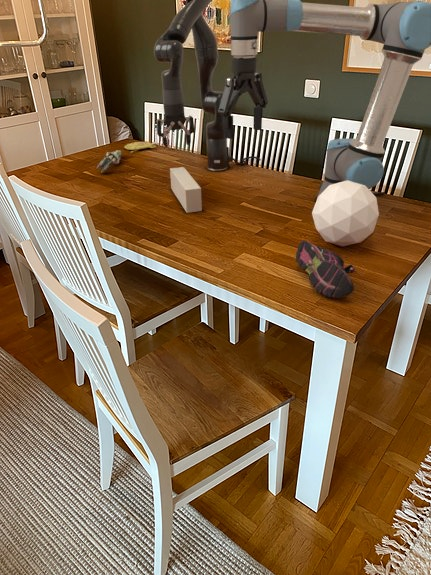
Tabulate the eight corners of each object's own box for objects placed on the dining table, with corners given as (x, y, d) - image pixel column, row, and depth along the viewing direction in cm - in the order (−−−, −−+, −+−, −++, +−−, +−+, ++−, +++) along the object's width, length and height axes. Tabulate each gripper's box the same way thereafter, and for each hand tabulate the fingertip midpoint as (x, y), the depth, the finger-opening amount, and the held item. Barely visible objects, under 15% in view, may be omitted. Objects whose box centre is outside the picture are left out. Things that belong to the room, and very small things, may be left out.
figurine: (101, 154, 197) (119, 141, 223) (91, 167, 200) (110, 152, 227) (114, 165, 199) (130, 151, 225) (103, 178, 203) (121, 162, 229)
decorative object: (138, 138, 251) (166, 140, 241) (139, 142, 252) (166, 144, 242) (113, 146, 236) (141, 149, 226) (113, 151, 237) (142, 154, 228)
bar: (171, 189, 185) (169, 168, 180) (185, 187, 186) (183, 166, 181) (186, 212, 163) (185, 190, 158) (202, 210, 164) (200, 188, 159)
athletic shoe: (341, 287, 106) (380, 279, 110) (299, 225, 117) (336, 220, 122) (323, 315, 114) (360, 306, 119) (286, 254, 126) (321, 249, 130)
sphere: (321, 259, 144) (291, 205, 142) (371, 228, 146) (342, 175, 144) (347, 258, 125) (313, 196, 123) (404, 222, 128) (371, 161, 125)
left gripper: (156, 105, 159) (160, 150, 168) (194, 101, 162) (197, 146, 171) (152, 101, 165) (157, 145, 174) (189, 97, 168) (192, 141, 177)
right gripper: (224, 61, 115) (225, 144, 127) (281, 53, 130) (277, 127, 142) (203, 60, 120) (206, 140, 131) (261, 52, 135) (259, 124, 146)
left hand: (177, 145), depth 172 cm, fingers open, 8 cm apart
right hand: (243, 133), depth 137 cm, fingers open, 13 cm apart
